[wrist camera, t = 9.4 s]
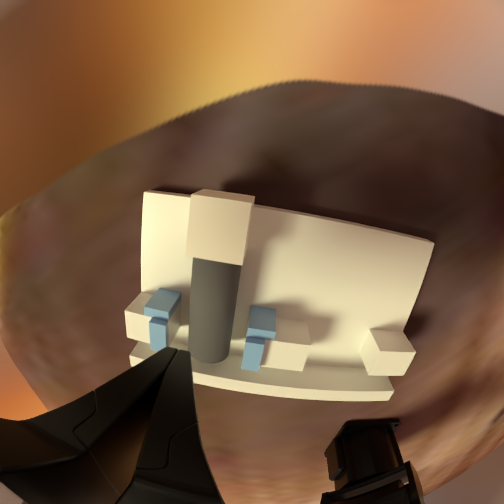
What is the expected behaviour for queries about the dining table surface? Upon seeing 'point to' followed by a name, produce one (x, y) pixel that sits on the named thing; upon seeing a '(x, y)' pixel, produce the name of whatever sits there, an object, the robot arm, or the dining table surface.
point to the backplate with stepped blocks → (288, 302)
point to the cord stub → (215, 268)
